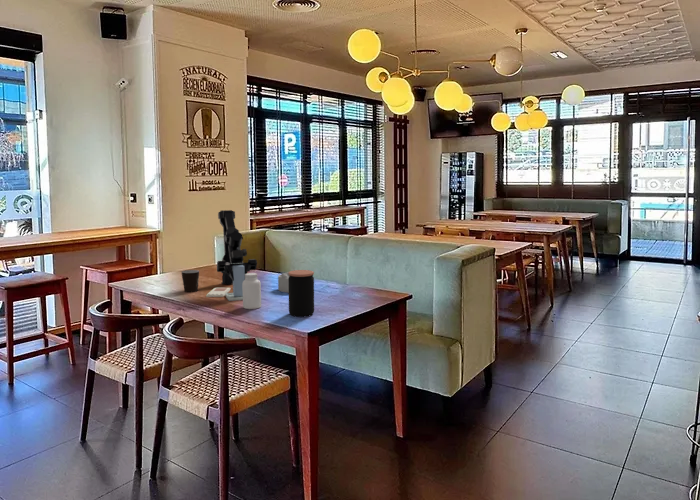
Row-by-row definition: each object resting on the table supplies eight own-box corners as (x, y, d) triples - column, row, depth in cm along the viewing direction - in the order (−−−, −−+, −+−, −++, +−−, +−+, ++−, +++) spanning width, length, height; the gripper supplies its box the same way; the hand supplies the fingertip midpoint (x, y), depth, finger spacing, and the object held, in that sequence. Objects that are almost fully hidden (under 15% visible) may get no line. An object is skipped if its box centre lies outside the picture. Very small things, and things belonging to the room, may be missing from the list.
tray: (225, 295, 269) (225, 293, 269) (249, 294, 273) (249, 291, 273) (228, 300, 258) (228, 298, 258) (253, 299, 262) (253, 296, 262)
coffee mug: (195, 293, 274) (194, 273, 273) (178, 292, 276) (178, 272, 275) (205, 288, 286) (204, 269, 284) (190, 287, 287) (189, 268, 286)
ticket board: (214, 289, 283) (214, 287, 283) (230, 289, 283) (230, 287, 282) (206, 296, 266) (206, 294, 266) (223, 296, 266) (222, 294, 266)
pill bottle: (243, 305, 250) (243, 272, 248) (261, 304, 251) (261, 272, 248) (241, 309, 242) (241, 275, 240) (260, 309, 243) (259, 275, 241)
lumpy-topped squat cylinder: (292, 293, 274) (291, 276, 273) (273, 290, 282) (272, 273, 281) (306, 290, 282) (305, 273, 281) (287, 286, 290) (287, 270, 289)
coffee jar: (299, 309, 242) (299, 269, 240) (319, 313, 236) (319, 271, 234) (283, 314, 234) (282, 272, 231) (303, 318, 228) (302, 275, 225)
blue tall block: (233, 294, 267) (232, 265, 265) (243, 293, 268) (242, 265, 266) (234, 296, 262) (233, 267, 260) (245, 295, 264) (244, 266, 262)
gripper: (216, 244, 262) (220, 271, 254) (256, 242, 269) (260, 269, 260) (215, 258, 271) (218, 284, 262) (253, 256, 277) (258, 282, 268)
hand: (239, 279), depth 263 cm, fingers closed on blue tall block, 5 cm apart
